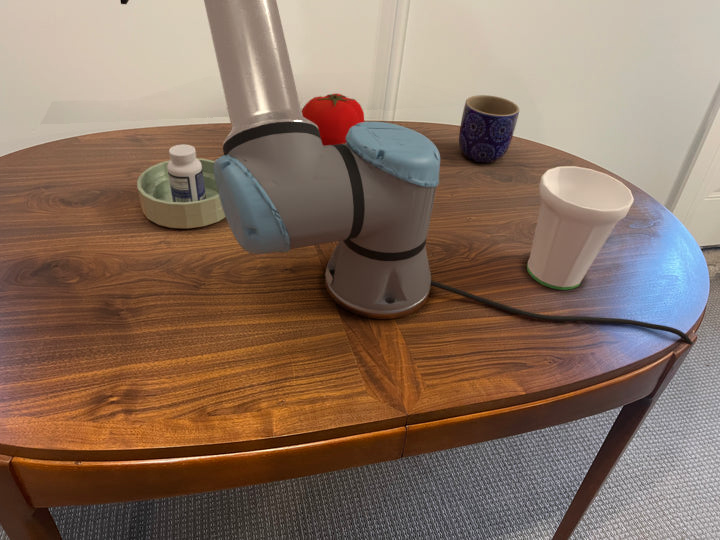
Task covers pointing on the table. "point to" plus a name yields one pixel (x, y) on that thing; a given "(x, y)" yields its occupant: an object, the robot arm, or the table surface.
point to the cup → (574, 223)
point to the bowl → (178, 214)
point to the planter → (487, 127)
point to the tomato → (333, 116)
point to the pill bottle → (185, 174)
